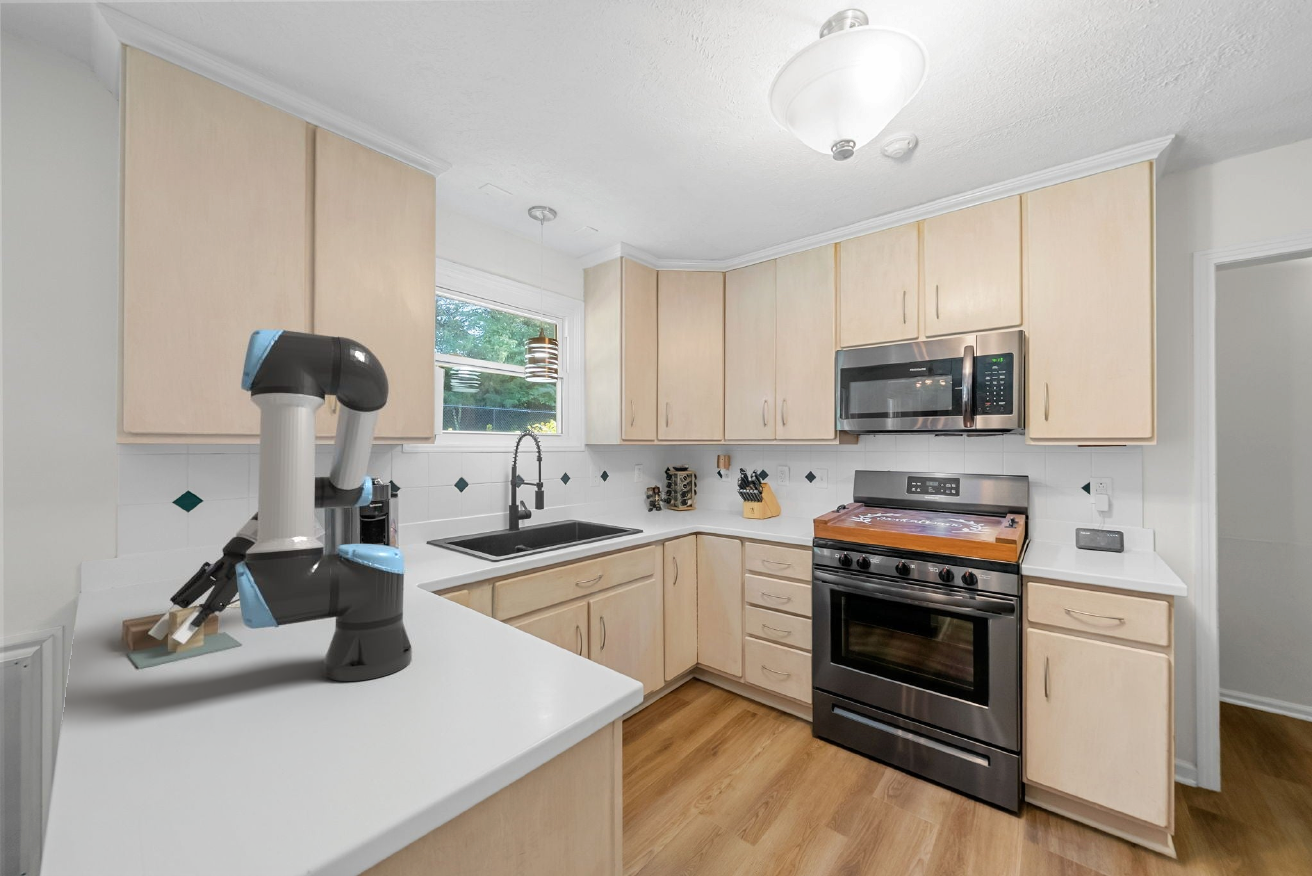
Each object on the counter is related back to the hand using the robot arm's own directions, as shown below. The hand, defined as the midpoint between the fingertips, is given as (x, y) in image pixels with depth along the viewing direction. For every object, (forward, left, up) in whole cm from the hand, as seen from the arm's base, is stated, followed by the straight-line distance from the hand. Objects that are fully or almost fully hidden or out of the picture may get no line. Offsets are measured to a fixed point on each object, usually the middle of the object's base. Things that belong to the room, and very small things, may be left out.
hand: (165, 638), depth 109 cm
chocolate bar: (+35, -26, -4) cm, 44 cm away
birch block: (+1, -3, -3) cm, 5 cm away
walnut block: (+14, -3, -4) cm, 15 cm away
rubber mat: (+1, -3, -4) cm, 5 cm away
